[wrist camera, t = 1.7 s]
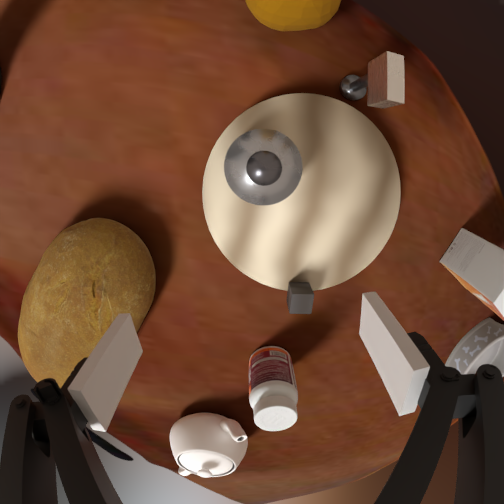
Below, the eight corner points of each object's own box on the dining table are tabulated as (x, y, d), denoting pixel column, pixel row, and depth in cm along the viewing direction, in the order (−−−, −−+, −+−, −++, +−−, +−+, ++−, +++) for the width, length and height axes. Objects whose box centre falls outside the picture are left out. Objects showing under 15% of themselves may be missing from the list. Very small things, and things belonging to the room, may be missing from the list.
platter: (204, 292, 36) (198, 309, 32) (208, 89, 28) (201, 81, 24) (377, 296, 36) (389, 313, 32) (403, 112, 29) (421, 109, 25)
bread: (186, 256, 37) (166, 293, 27) (99, 397, 46) (80, 435, 36) (74, 177, 33) (26, 189, 23) (22, 342, 42) (-5, 373, 33)
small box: (437, 261, 37) (492, 303, 24) (461, 226, 35) (521, 258, 23) (462, 287, 38) (512, 329, 26) (484, 255, 37) (538, 290, 24)
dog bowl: (479, 385, 48) (490, 400, 42) (427, 387, 46) (438, 406, 41) (518, 321, 42) (532, 334, 37) (472, 312, 40) (488, 328, 35)
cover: (226, 196, 31) (221, 206, 26) (228, 129, 29) (224, 125, 23) (293, 200, 31) (302, 211, 26) (298, 133, 29) (308, 130, 24)
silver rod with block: (338, 112, 31) (379, 97, 20) (339, 74, 29) (379, 45, 18) (362, 116, 31) (411, 105, 20) (363, 79, 29) (410, 55, 18)
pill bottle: (240, 355, 41) (238, 415, 31) (278, 337, 40) (285, 396, 30) (263, 381, 43) (266, 439, 32) (298, 364, 42) (310, 422, 31)
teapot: (214, 459, 52) (210, 500, 41) (155, 435, 49) (143, 477, 39) (280, 409, 46) (285, 460, 35) (209, 377, 43) (201, 431, 33)
